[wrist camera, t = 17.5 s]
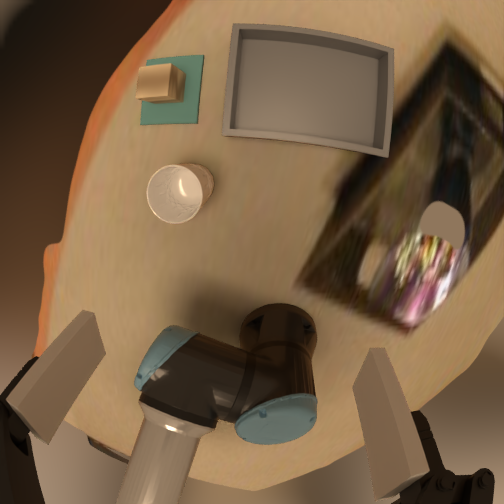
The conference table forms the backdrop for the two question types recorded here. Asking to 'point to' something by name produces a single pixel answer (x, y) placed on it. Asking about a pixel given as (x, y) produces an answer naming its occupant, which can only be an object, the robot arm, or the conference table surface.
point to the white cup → (179, 191)
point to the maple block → (161, 84)
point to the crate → (309, 88)
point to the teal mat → (190, 106)
